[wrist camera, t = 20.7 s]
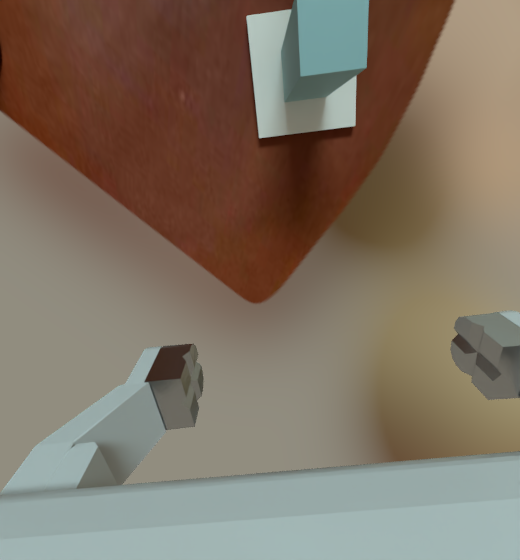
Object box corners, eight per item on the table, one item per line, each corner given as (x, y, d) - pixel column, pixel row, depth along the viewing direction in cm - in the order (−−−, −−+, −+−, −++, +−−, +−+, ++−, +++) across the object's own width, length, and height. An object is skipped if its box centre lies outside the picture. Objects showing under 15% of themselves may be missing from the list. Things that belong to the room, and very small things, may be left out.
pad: (259, 138, 37) (259, 138, 36) (246, 19, 32) (246, 15, 32) (352, 126, 37) (355, 125, 36) (354, 4, 32) (357, -1, 31)
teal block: (284, 102, 35) (300, 76, 22) (280, 51, 33) (296, -10, 20) (326, 97, 35) (366, 67, 22) (325, 45, 33) (369, -21, 20)
